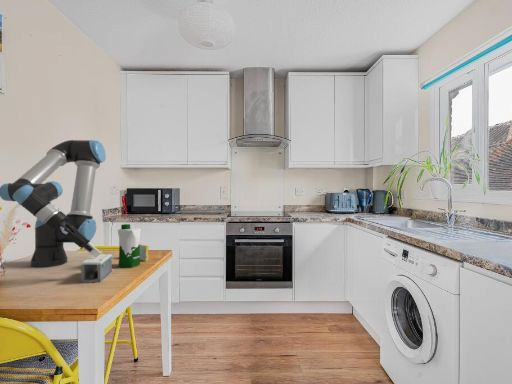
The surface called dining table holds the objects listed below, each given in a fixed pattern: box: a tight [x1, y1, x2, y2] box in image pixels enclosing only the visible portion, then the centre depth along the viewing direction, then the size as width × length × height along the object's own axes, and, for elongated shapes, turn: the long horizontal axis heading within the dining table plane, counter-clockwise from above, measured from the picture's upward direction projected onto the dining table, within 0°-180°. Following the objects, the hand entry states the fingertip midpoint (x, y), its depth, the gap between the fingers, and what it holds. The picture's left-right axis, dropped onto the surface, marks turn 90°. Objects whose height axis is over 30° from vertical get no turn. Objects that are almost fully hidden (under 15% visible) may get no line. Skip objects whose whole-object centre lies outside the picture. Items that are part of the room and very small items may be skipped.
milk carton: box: [117, 223, 142, 269], centre depth 147 cm, size 9×9×20 cm
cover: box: [81, 253, 113, 265], centre depth 128 cm, size 16×7×1 cm, turn 11°
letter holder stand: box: [80, 255, 113, 284], centre depth 128 cm, size 16×8×7 cm, turn 11°
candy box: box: [140, 244, 150, 263], centre depth 161 cm, size 16×2×8 cm, turn 58°
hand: (98, 255), depth 128 cm, fingers closed
